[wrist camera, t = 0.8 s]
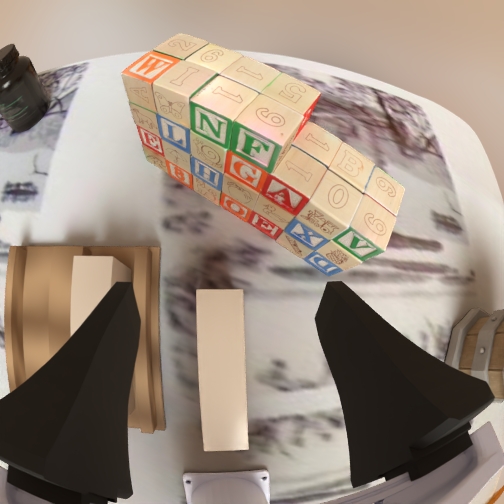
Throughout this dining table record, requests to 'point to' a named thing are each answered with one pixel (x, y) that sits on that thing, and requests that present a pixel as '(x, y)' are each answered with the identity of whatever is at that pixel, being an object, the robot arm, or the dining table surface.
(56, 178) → the dining table surface
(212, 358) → the beige rectangular block
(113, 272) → the cream long block
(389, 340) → the robot arm
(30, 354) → the rack
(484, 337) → the tankard
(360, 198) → the stack of blocks
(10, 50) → the supplement bottle
